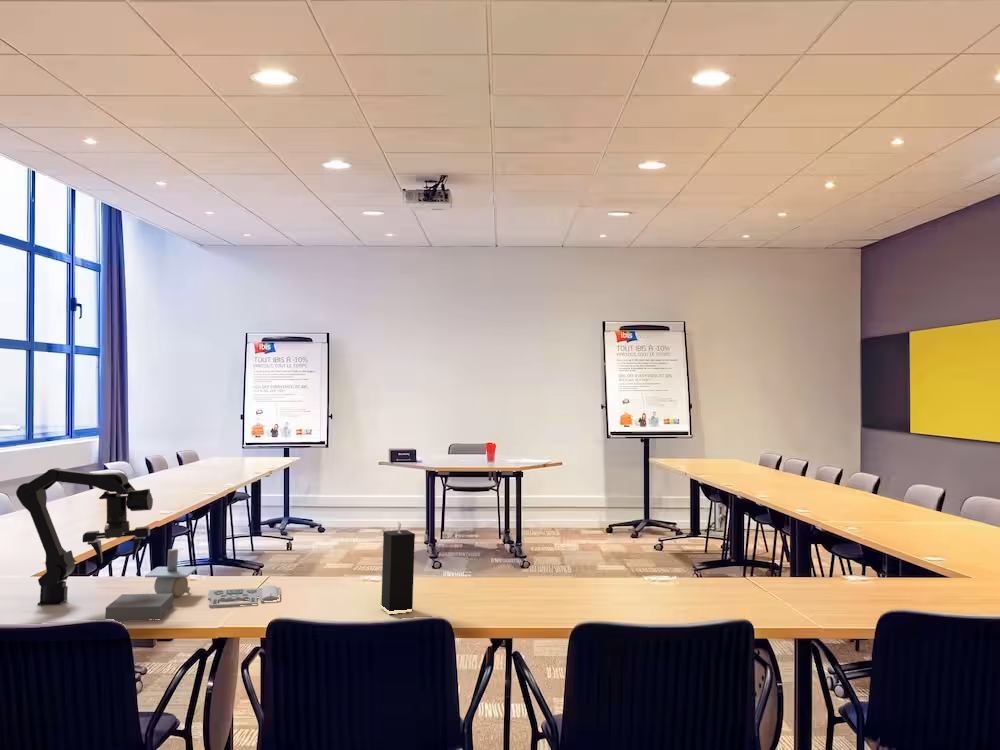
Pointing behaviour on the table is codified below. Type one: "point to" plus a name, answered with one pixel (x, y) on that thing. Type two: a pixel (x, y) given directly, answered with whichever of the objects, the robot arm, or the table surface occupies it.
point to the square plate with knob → (171, 567)
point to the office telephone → (243, 595)
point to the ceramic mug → (171, 585)
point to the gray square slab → (139, 607)
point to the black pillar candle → (398, 569)
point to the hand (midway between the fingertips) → (117, 561)
